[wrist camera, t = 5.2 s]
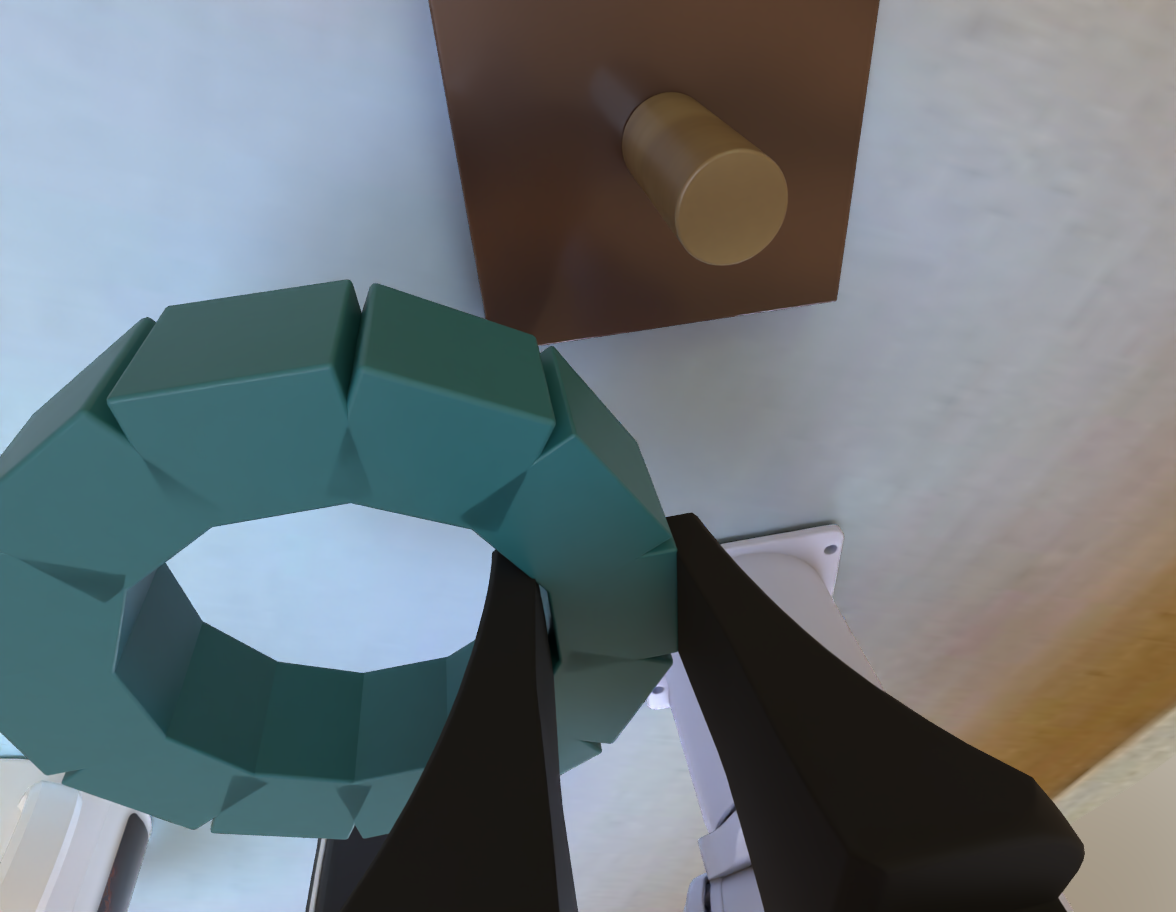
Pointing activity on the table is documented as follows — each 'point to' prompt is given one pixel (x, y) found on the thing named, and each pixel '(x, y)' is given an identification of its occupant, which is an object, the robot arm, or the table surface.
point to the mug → (65, 845)
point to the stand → (654, 155)
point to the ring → (294, 484)
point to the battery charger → (340, 869)
